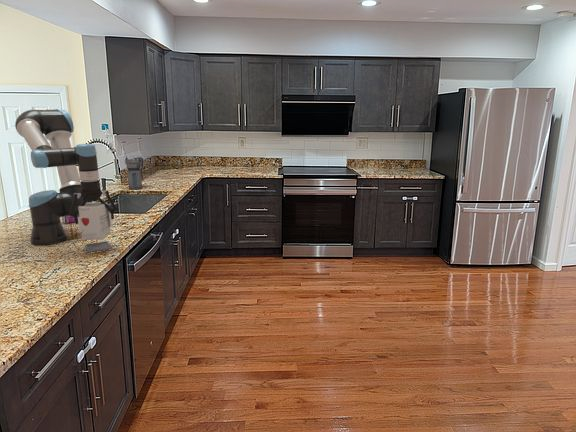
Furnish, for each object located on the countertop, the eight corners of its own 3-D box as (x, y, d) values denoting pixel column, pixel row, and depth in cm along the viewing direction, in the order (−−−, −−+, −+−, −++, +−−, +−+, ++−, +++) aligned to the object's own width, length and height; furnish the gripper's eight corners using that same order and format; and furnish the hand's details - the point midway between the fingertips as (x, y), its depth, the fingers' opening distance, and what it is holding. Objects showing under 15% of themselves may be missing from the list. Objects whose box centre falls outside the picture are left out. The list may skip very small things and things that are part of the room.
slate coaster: (87, 253, 179) (86, 250, 178) (84, 247, 187) (84, 244, 187) (111, 249, 184) (111, 246, 183) (108, 243, 192) (108, 240, 191)
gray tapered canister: (145, 189, 321) (143, 157, 315) (127, 190, 317) (124, 157, 310) (145, 186, 330) (142, 155, 324) (127, 188, 326) (124, 156, 320)
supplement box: (81, 240, 180) (77, 206, 176) (92, 234, 188) (87, 202, 184) (101, 240, 179) (97, 206, 175) (111, 234, 188) (107, 202, 184)
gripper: (58, 184, 168) (65, 234, 174) (121, 179, 180) (126, 226, 186) (57, 181, 175) (64, 230, 180) (118, 176, 186) (123, 222, 192)
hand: (95, 228), depth 183 cm, fingers closed on supplement box, 12 cm apart
